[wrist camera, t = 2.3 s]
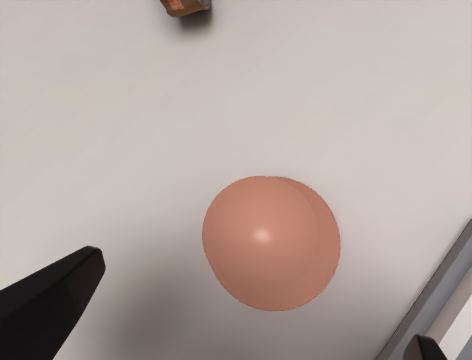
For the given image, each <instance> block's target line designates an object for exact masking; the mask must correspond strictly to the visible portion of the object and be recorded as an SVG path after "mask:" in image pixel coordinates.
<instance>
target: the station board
mask: <svg viewBox="0 0 472 360" xmlns="http://www.w3.org/2000/svg"><path fill="white" fill-rule="evenodd" d="M414 334H421V335H425V336H428V337H431V338H433V339H434V340H435V341H436V342H437V344H438V345H439V347H440V348H441V350H442V351H443V353H444V354H445V356H446V357H447V359H448V360H472V219H471V221H470V222H469V224H468V225H467V227H466V228H465V230H464V231H463V232H462V234H461V235H460V237H459V238H458V240H457V241H456V243H455V244H454V246H453V247H452V249H451V250H450V252H449V253H448V255H447V256H446V258H445V259H444V261H443V262H442V263H441V265H440V266H439V268H438V269H437V271H436V272H435V274H434V275H433V277H432V278H431V280H430V281H429V283H428V284H427V286H426V287H425V289H424V290H423V292H422V293H421V294H420V296H419V297H418V299H417V300H416V302H415V303H414V305H413V306H412V308H411V309H410V311H409V312H408V314H407V315H406V317H405V318H404V320H403V321H402V322H401V324H400V325H399V327H398V328H397V330H396V331H395V333H394V334H393V336H392V337H391V339H390V340H389V342H388V343H387V345H386V346H385V348H384V349H383V351H382V352H381V353H380V355H379V356H378V358H377V359H376V360H403V353H404V350H405V348H406V347H407V345H408V343H409V342H410V340H411V338H412V337H413V335H414Z"/></svg>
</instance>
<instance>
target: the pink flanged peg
mask: <svg viewBox="0 0 472 360" xmlns="http://www.w3.org/2000/svg"><path fill="white" fill-rule="evenodd" d="M202 237H203V246H204V250H205V253H206V257H207V259H208V261H209V263H210V265H211V266H212V268H213V271H214V273H215V275H216V277H217V278H218V280H219V281H220V283H221V284H222V285H223V287H224V288H225V289H226V290H227V291H228V292H229V293H230V294H231V295H232V296H233V297H235V298H236V299H238V300H239V301H241V302H243V303H245V304H246V305H248V306H251V307H254V308H257V309H261V310H266V311H284V310H289V309H293V308H296V307H299V306H302V305H303V304H305V303H307V302H309V301H311V300H312V299H313V298H315V297H316V296H317V295H318V294H319V293H320V292H321V291H322V290H323V289H324V288H325V287H326V286H327V284H328V283H329V282H330V280H331V278H332V276H333V275H334V272H335V270H336V267H337V264H338V260H339V255H340V235H339V229H338V226H337V223H336V220H335V218H334V216H333V213H332V212H331V210H330V208H329V207H328V205H327V204H326V203H325V201H324V200H323V199H322V198H321V197H320V196H319V195H318V194H317V193H316V192H315V191H313V190H312V189H311V188H309V187H308V186H306V185H304V184H302V183H300V182H297V181H295V180H292V179H288V178H283V177H265V176H255V177H248V178H244V179H241V180H239V181H236V182H234V183H232V184H231V185H229V186H227V187H226V188H225V189H223V190H222V191H221V192H220V193H219V194H218V195H217V196H216V198H215V199H214V200H213V202H212V203H211V205H210V206H209V209H208V211H207V213H206V216H205V219H204V224H203V232H202Z"/></svg>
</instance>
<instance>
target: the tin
mask: <svg viewBox="0 0 472 360" xmlns="http://www.w3.org/2000/svg"><path fill="white" fill-rule="evenodd" d="M160 1H161V3H162V4H163V6H164V7H165V8H166V10H167V13H168V14H169V15H170V16H172V17H180V16H184V15H187V14H190V13H193V12H197V11H200V10H203V9H205V10H208V9H209V8H210V6H211V0H160Z"/></svg>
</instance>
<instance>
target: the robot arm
mask: <svg viewBox="0 0 472 360" xmlns="http://www.w3.org/2000/svg"><path fill="white" fill-rule="evenodd" d="M105 267H106V266H105V262H104V258H103V254H102V251H101V249H99V248H97V247H93V246H85V247H83V248H81V249H79V250H77V251H75V252H74V253H72V254H70V255H68V256H66V257H64V258H62V259H60V260H58V261H56V262H54V263H52V264H50V265H49V266H47V267H45V268H43V269H41V270H39V271H37V272H35V273H33V274H31V275H29V276H27V277H25V278H23V279H22V280H20V281H18V282H16V283H14V284H12V285H10V286H8V287H6V288H4V289H2V290H0V360H53V358H54V357H55V355H56V354H57V352H58V351H59V349H60V348H61V346H62V345H63V343H64V342H65V340H66V339H67V337H68V336H69V334H70V333H71V331H72V330H73V328H74V327H75V325H76V324H77V322H78V321H79V319H80V317H81V316H82V314H83V312H84V310H85V308H86V307H87V305H88V303H89V301H90V299H91V297H92V295H93V293H94V292H95V290H96V288H97V286H98V284H99V282H100V280H101V279H102V277H103V275H104V272H105ZM403 360H448V359H447V357H446V356H445V354H444V353H443V351H442V350H441V348H440V347H439V345H438V344H437V342H436V341H435V340H434V339H433V338H431V337H428V336H425V335H421V334H414V335H413V337H412V338H411V340H410V342H409V343H408V345H407V347H406V348H405V350H404V353H403Z"/></svg>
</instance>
